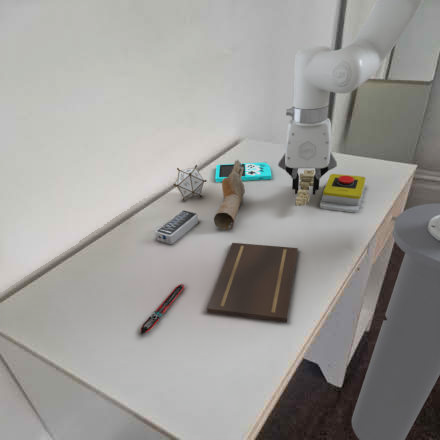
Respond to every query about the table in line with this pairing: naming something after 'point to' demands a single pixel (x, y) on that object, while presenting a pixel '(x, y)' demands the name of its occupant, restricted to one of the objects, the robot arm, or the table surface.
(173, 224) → the multiport hub
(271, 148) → the table surface
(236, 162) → the mannequin hand
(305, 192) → the decorative script
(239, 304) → the board
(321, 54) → the robot arm
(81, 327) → the table surface
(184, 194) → the game die
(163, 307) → the pen
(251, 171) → the handheld game console
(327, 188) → the emergency button
